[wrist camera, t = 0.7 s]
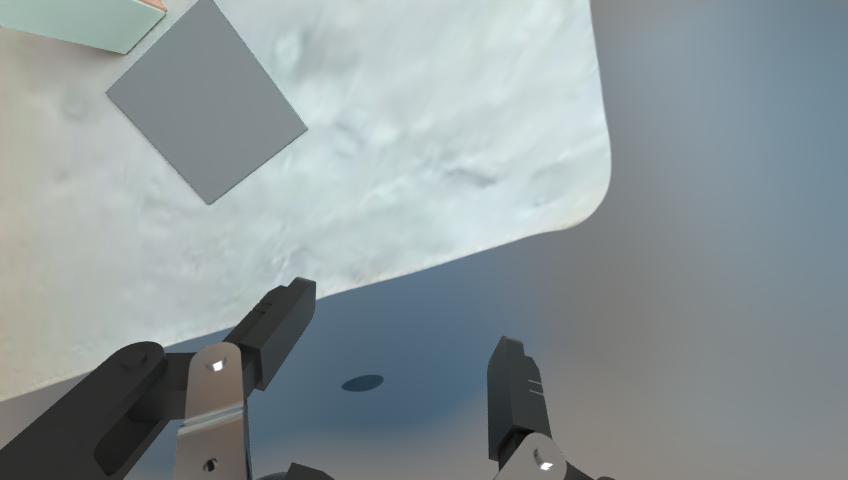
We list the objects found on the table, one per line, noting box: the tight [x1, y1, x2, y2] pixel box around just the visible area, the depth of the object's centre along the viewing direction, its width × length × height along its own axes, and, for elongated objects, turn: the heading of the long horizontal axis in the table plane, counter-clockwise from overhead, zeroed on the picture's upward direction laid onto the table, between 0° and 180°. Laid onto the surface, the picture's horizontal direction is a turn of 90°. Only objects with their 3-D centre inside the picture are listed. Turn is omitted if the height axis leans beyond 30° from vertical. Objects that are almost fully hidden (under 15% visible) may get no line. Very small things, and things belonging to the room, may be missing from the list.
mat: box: [105, 0, 308, 205], centre depth 34 cm, size 15×16×1 cm
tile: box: [0, 0, 167, 54], centre depth 26 cm, size 2×7×12 cm, turn 123°
